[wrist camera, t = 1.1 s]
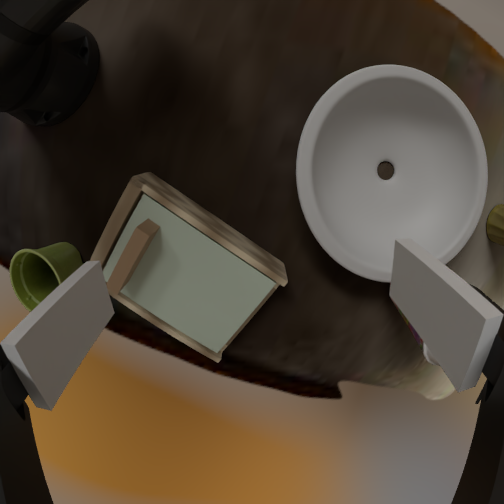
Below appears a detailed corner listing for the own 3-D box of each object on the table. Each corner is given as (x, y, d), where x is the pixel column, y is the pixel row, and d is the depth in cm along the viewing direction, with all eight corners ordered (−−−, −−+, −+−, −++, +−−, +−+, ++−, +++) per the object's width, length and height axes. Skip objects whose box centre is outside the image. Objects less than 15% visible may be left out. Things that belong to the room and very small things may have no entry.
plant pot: (53, 217, 37) (16, 235, 29) (102, 252, 39) (70, 278, 31) (38, 267, 40) (5, 291, 32) (83, 301, 41) (54, 331, 33)
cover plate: (104, 273, 35) (86, 290, 31) (147, 192, 32) (131, 199, 27) (218, 347, 38) (213, 371, 34) (275, 278, 35) (278, 298, 30)
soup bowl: (425, 279, 39) (448, 300, 33) (265, 235, 38) (267, 254, 31) (474, 122, 32) (504, 122, 25) (317, 48, 30) (329, 30, 24)
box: (102, 259, 39) (83, 275, 34) (149, 171, 35) (132, 176, 30) (222, 338, 43) (218, 362, 37) (284, 263, 39) (287, 282, 33)
